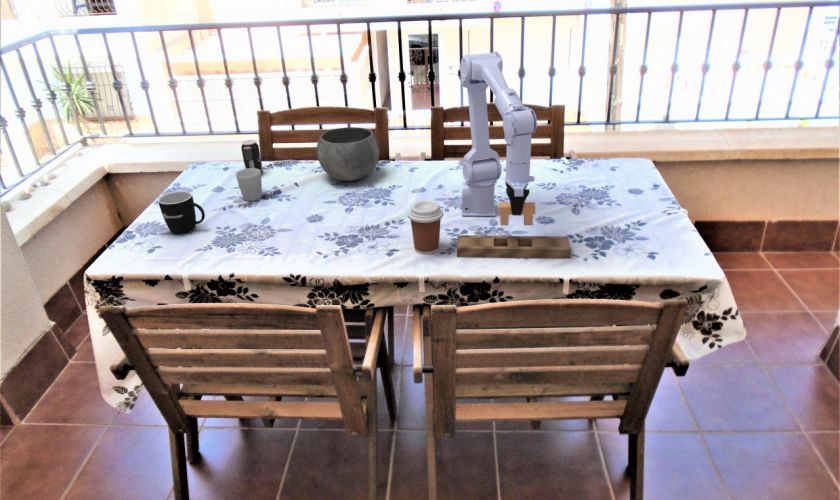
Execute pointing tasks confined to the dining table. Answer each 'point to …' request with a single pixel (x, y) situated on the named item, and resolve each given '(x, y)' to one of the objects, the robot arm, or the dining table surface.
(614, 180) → the dining table surface
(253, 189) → the cup
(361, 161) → the bowl
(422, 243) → the coffee cup
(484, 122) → the robot arm
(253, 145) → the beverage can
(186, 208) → the mug
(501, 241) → the rail
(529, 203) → the clip
